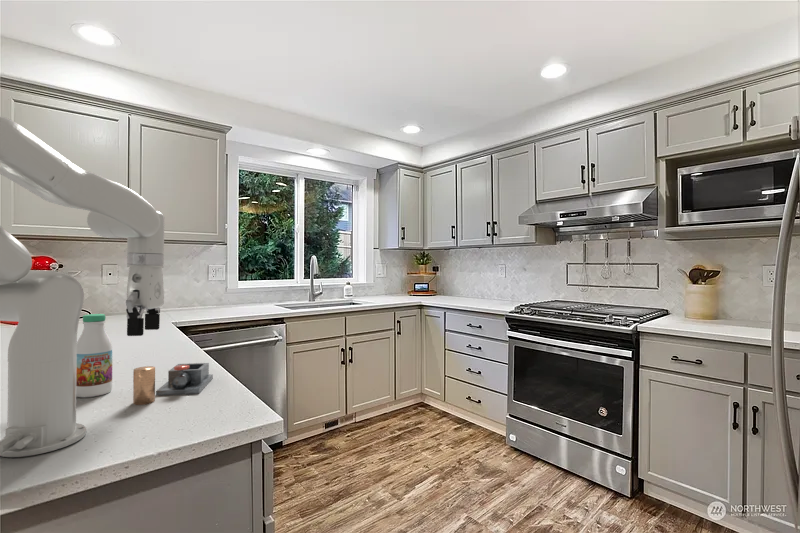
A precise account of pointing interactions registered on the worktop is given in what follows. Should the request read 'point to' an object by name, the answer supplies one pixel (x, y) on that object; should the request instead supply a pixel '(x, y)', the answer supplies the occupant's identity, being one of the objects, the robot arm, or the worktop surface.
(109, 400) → the worktop surface
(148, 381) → the pipe stub
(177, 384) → the block
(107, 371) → the milk bottle
